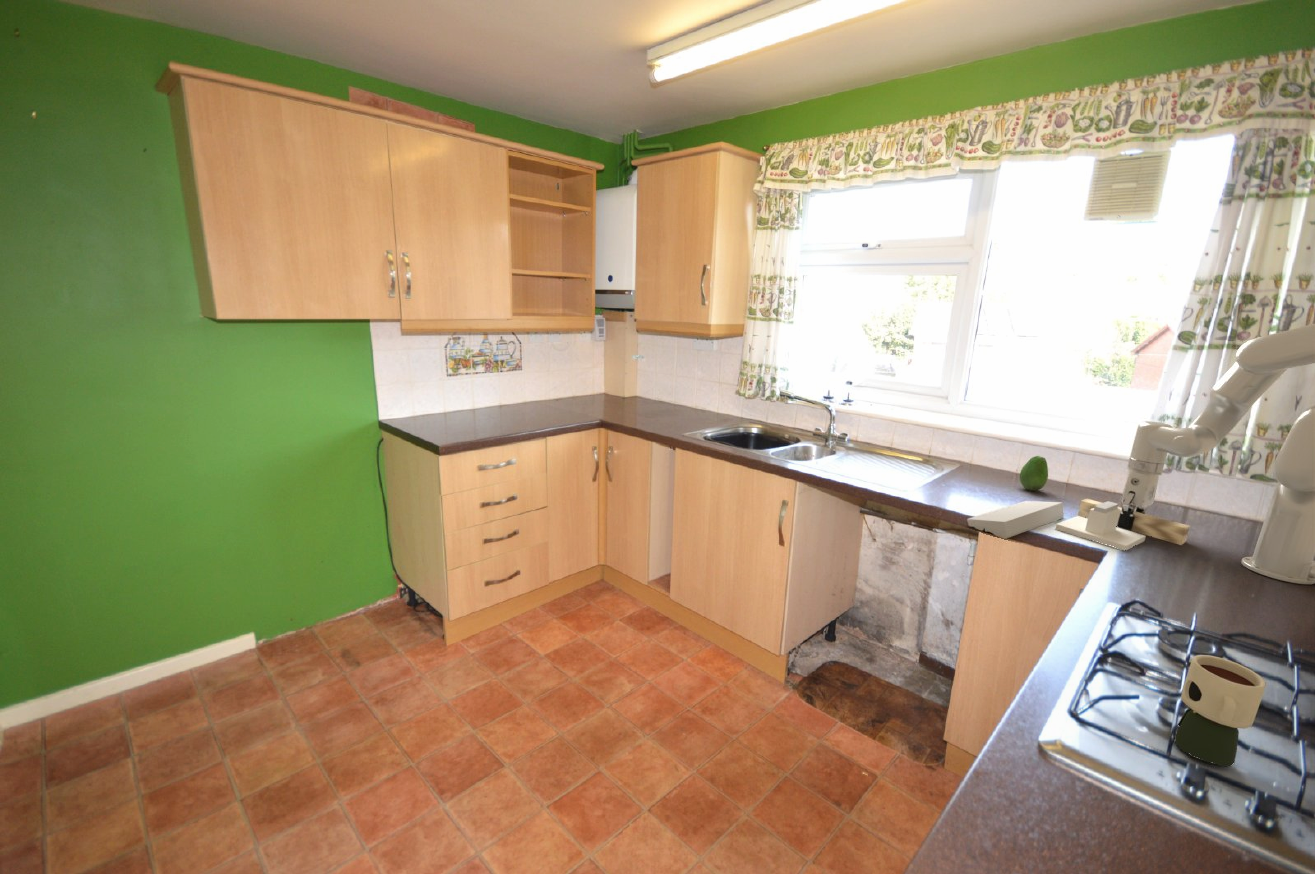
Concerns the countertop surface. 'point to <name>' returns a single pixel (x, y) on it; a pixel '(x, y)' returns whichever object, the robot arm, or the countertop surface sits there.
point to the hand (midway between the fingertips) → (1129, 525)
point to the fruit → (1034, 473)
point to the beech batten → (1147, 524)
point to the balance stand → (1102, 527)
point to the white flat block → (1018, 518)
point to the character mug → (1217, 708)
